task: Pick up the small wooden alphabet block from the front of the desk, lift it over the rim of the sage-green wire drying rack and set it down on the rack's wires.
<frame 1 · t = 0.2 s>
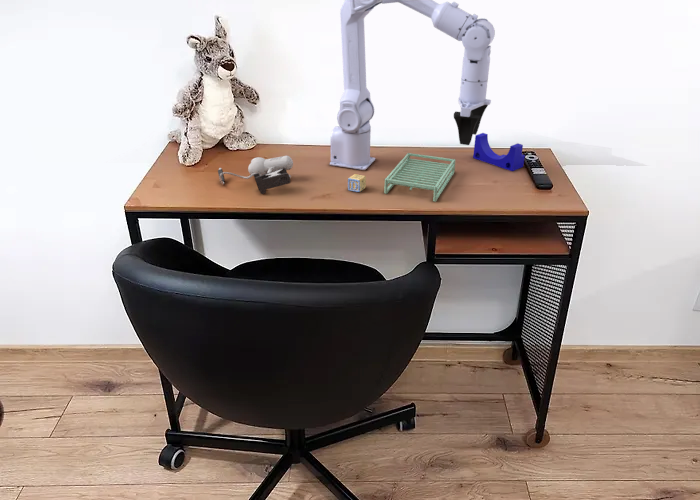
hand: (468, 138, 144), 10 cm above the table, tool pointing down, fingers open, 7 cm apart
rack: (420, 182, 147), on the table
clip-on lamp: (254, 184, 146), on the table
alphabet block: (356, 190, 144), on the table
blue cradle bracket: (497, 162, 159), on the table
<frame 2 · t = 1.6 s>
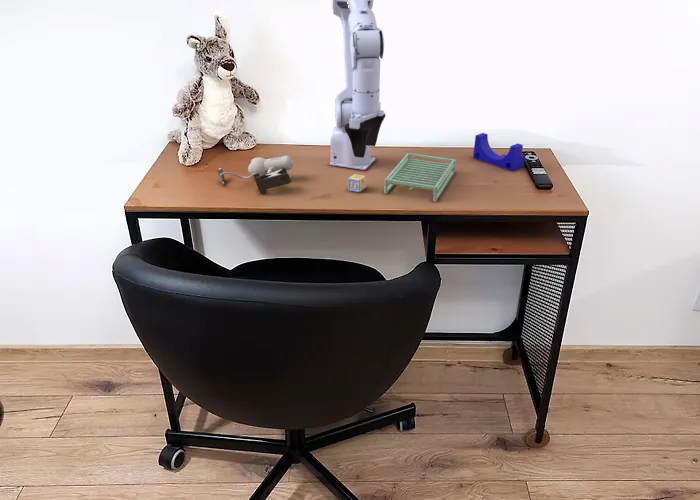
hand: (365, 150, 140), 9 cm above the table, tool pointing down, fingers open, 7 cm apart
nothing on the table moved.
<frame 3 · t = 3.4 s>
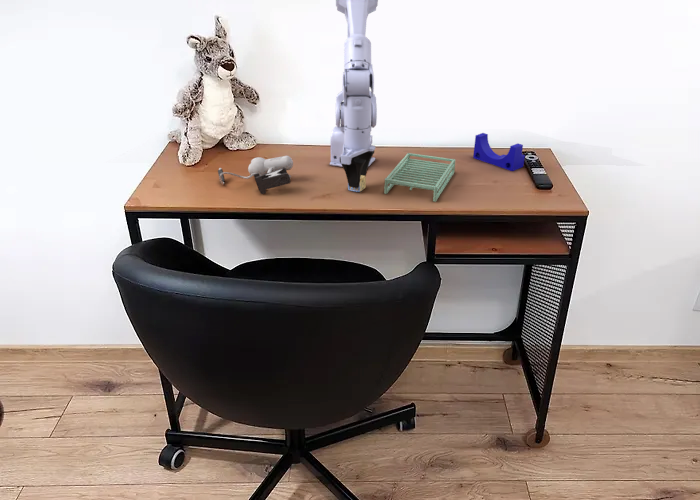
hand: (356, 183, 143), 1 cm above the table, tool pointing down, fingers closed on alphabet block, 3 cm apart
alphabet block: (356, 190, 144), on the table, touching gripper
everything else where it was.
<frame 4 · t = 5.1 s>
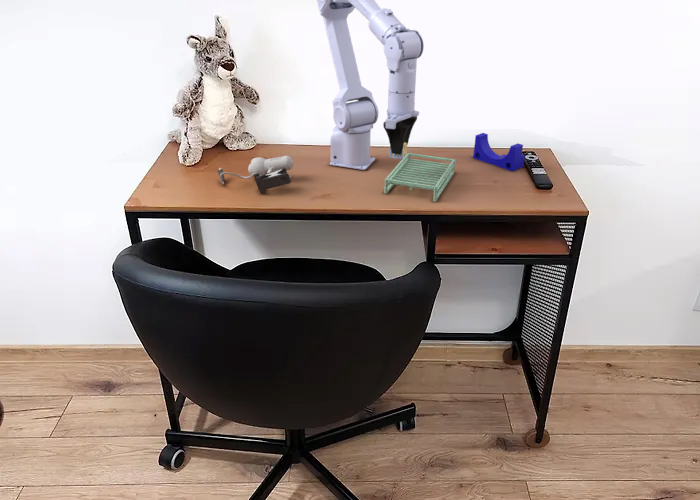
hand: (399, 150, 142), 8 cm above the table, tool pointing down, fingers closed on alphabet block, 3 cm apart
alphabet block: (398, 157, 143), point 7 cm above the table, touching gripper
everything else where it was.
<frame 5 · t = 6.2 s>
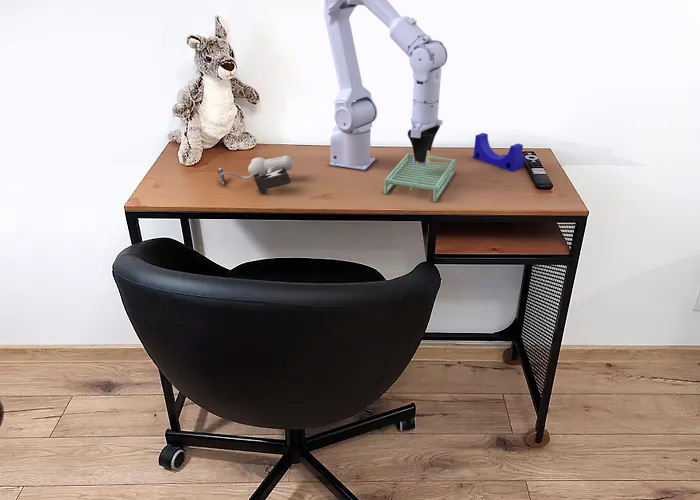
hand: (422, 158, 144), 6 cm above the table, tool pointing down, fingers closed on alphabet block, 3 cm apart
alphabet block: (421, 165, 145), point 4 cm above the table, touching gripper
everything else where it was.
when the fingers open (4 cm above the table, at t = 7.2 s): alphabet block stays where it is, resting on rack.
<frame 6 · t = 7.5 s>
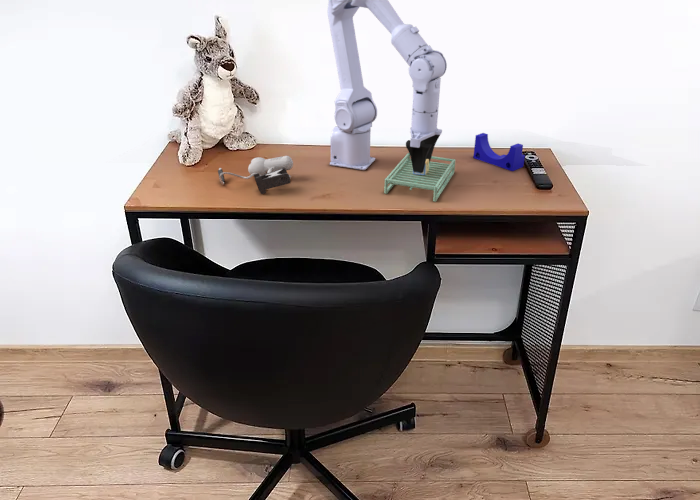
hand: (421, 167, 146), 4 cm above the table, tool pointing down, fingers open, 5 cm apart
alphabet block: (420, 173, 146), point 2 cm above the table, touching rack
everything else where it was.
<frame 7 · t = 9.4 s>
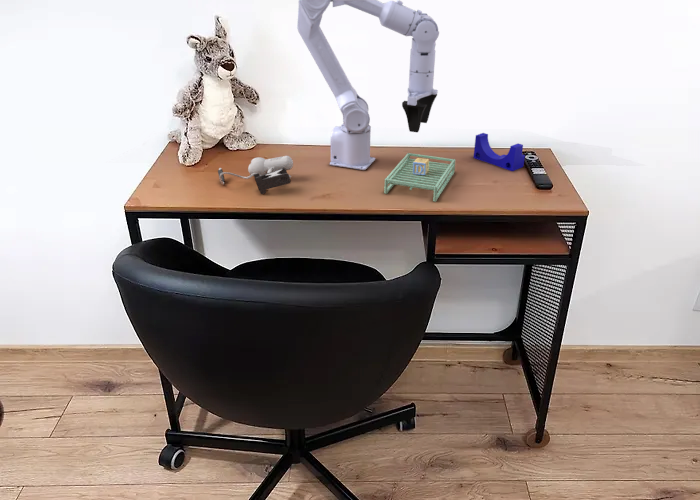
hand: (418, 126, 154), 9 cm above the table, tool pointing down, fingers open, 7 cm apart
nothing on the table moved.
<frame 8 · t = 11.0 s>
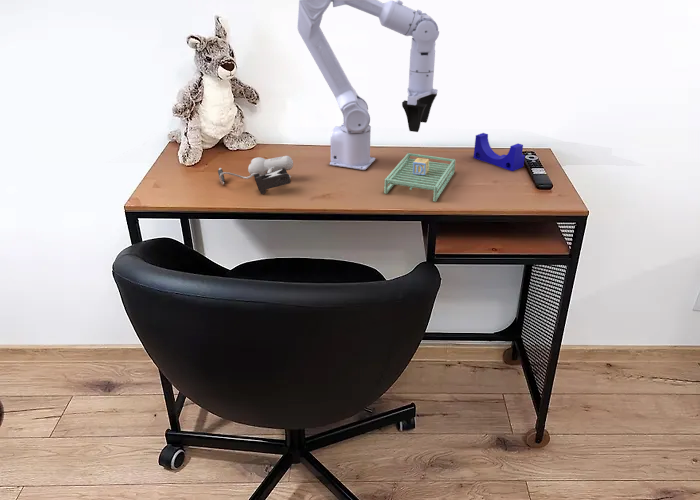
hand: (418, 126, 154), 9 cm above the table, tool pointing down, fingers open, 7 cm apart
nothing on the table moved.
at the end: alphabet block inside the target area on the rack (0.1 cm from its centre), point 2.3 cm above the rack's base; alphabet block tilted 0°; the gripper is holding nothing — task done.
